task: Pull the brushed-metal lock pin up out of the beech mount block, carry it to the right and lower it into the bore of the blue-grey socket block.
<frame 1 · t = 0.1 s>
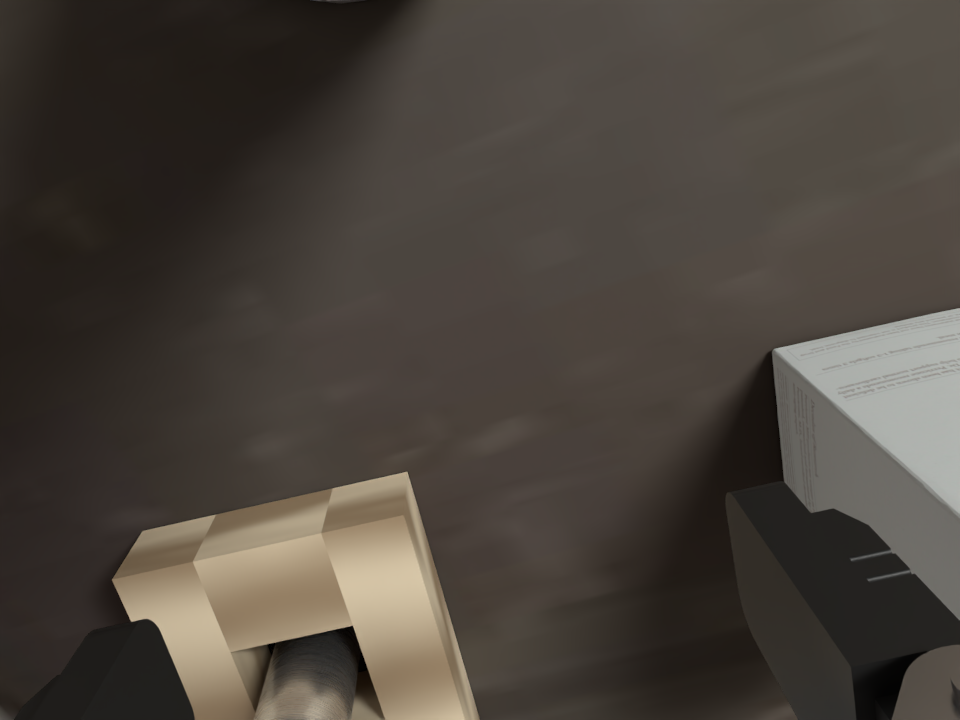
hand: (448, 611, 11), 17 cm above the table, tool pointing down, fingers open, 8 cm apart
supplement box: (873, 414, 30), on the table
pin: (321, 632, 32), resting in mount
mount: (321, 632, 32), on the table
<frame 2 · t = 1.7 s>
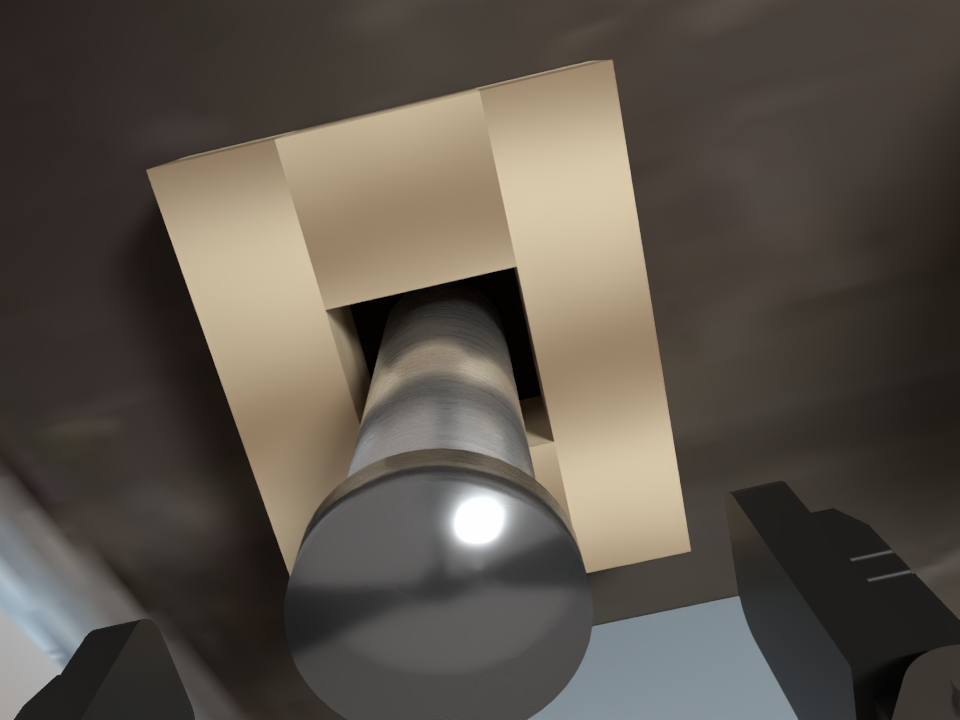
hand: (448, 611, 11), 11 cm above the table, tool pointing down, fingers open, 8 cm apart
pin: (444, 338, 22), resting in mount
mount: (444, 338, 22), on the table
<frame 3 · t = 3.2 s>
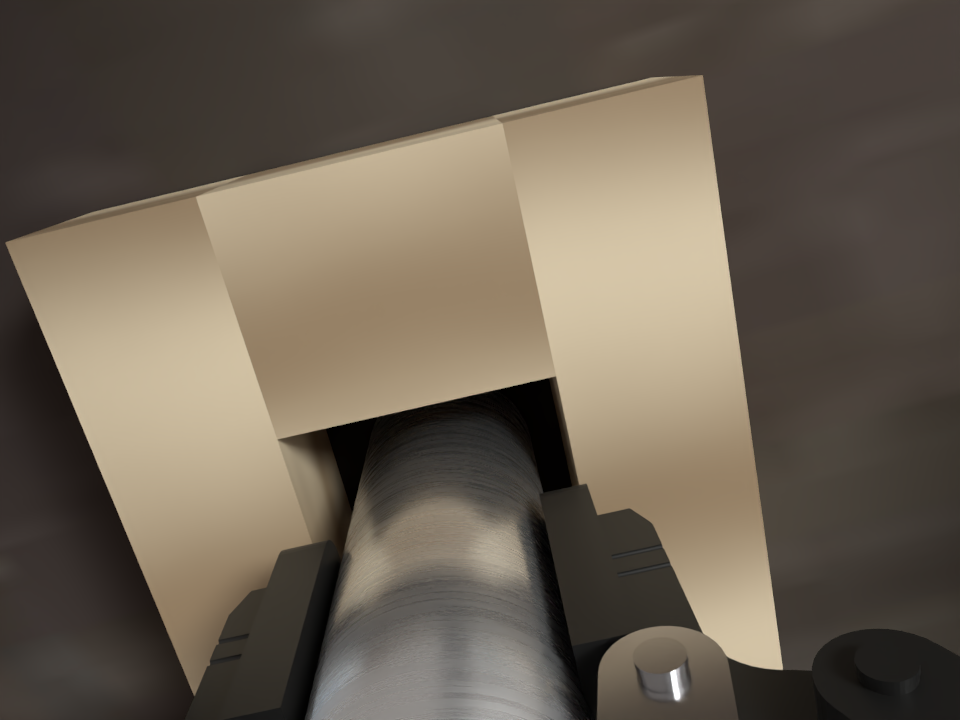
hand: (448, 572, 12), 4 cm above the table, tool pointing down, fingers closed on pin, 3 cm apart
pin: (450, 453, 16), resting in mount, touching gripper
mount: (449, 453, 16), on the table
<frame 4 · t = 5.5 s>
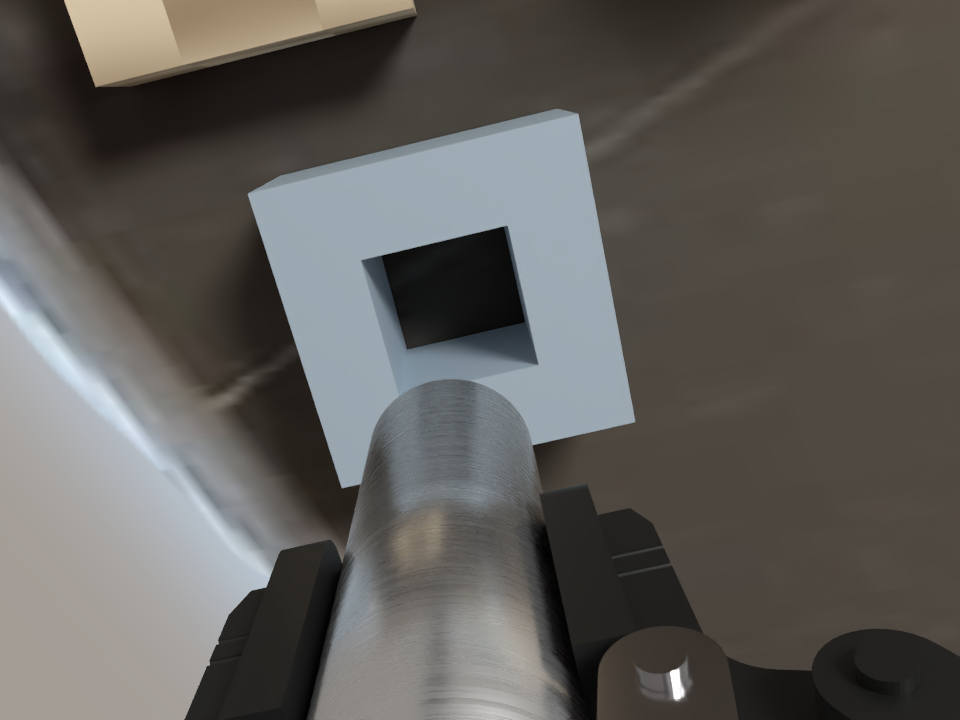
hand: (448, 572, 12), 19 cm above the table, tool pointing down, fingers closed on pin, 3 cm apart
pin: (451, 455, 16), point 15 cm above the table, touching gripper
socket: (451, 278, 31), on the table
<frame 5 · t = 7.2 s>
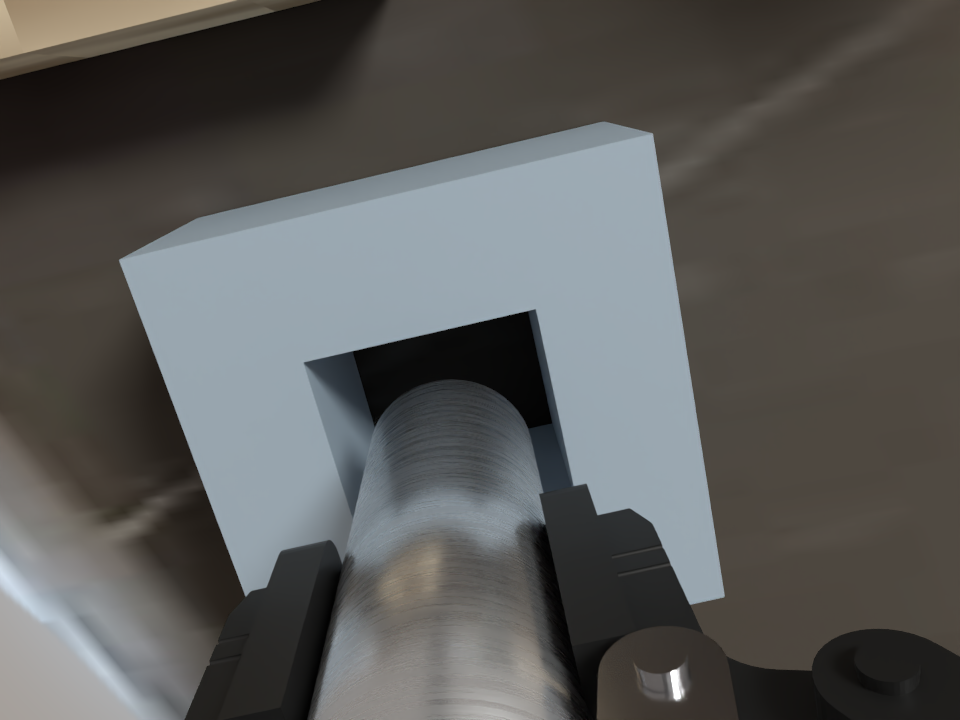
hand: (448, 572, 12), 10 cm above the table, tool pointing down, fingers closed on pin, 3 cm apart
pin: (451, 456, 16), point 5 cm above the table, touching gripper
socket: (447, 362, 21), on the table
when the fingers open (6 cm above the table, at t = 8.3 s): pin drops 1 cm, resting in socket.
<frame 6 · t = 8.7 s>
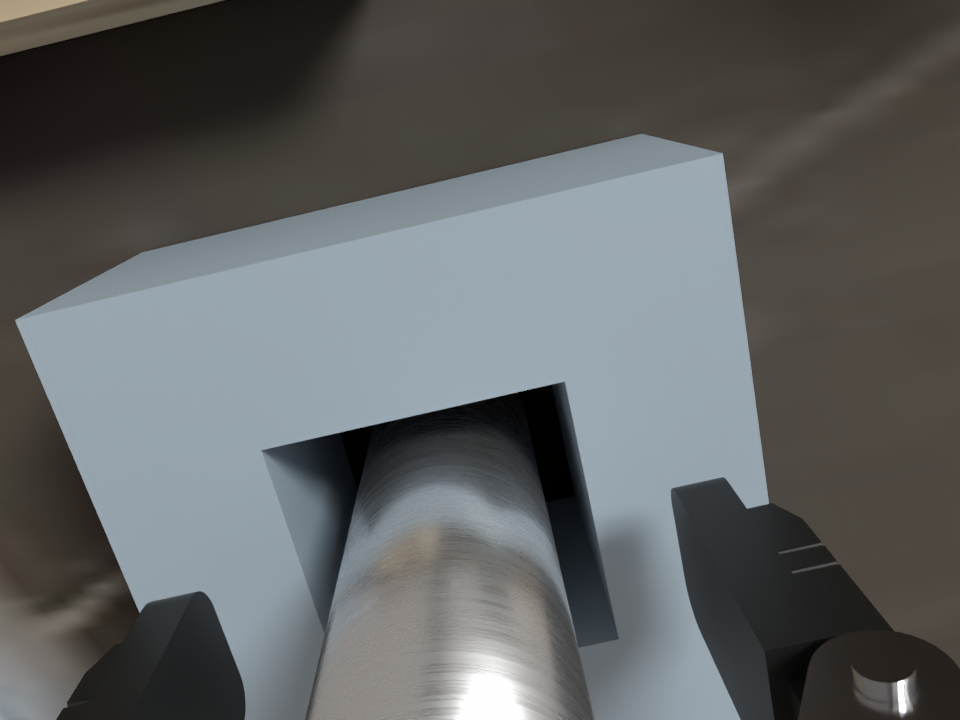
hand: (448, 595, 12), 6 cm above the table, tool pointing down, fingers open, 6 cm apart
pin: (450, 424, 18), resting in socket
socket: (449, 425, 18), on the table
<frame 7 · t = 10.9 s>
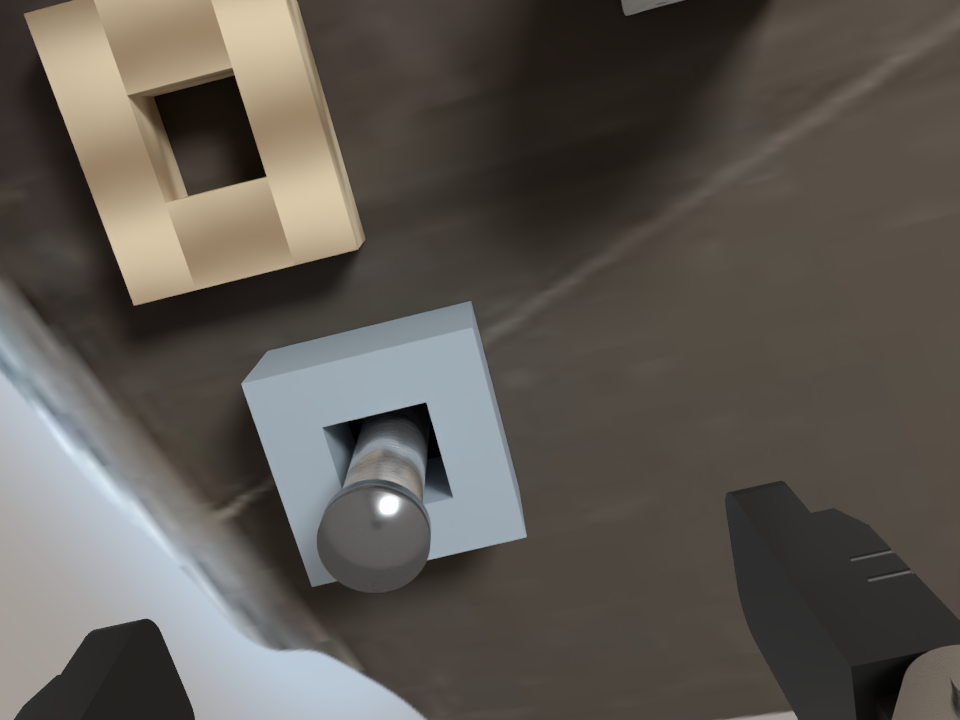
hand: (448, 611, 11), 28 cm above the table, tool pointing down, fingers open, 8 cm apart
pin: (397, 421, 41), resting in socket
mount: (218, 134, 37), on the table
socket: (396, 421, 41), on the table
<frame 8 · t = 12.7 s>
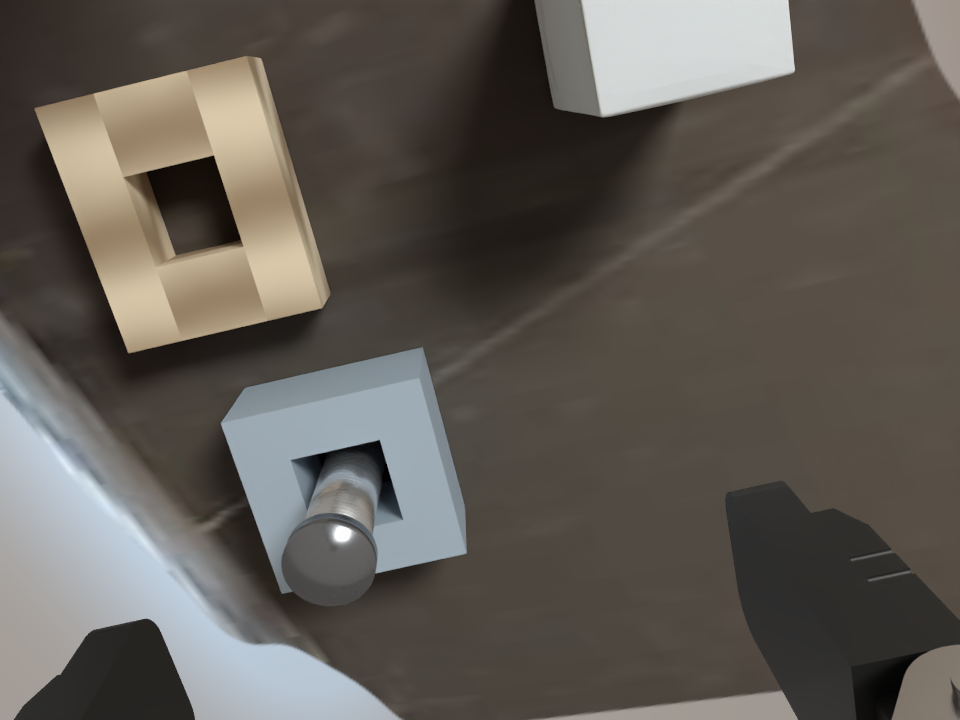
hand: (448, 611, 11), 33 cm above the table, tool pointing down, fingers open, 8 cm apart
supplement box: (612, 18, 40), on the table
pin: (358, 449, 47), resting in socket
mount: (202, 204, 42), on the table
socket: (358, 449, 47), on the table
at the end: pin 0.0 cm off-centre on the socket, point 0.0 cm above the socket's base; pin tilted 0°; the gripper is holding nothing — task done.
